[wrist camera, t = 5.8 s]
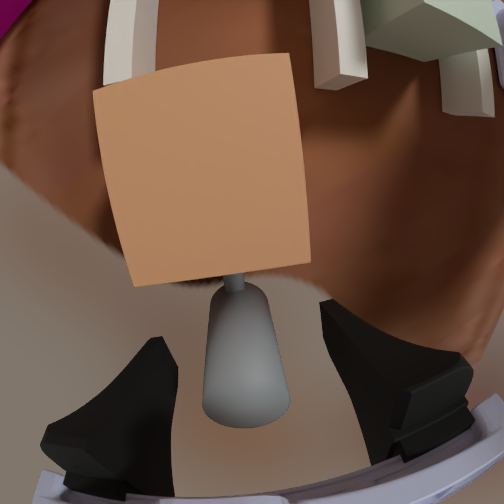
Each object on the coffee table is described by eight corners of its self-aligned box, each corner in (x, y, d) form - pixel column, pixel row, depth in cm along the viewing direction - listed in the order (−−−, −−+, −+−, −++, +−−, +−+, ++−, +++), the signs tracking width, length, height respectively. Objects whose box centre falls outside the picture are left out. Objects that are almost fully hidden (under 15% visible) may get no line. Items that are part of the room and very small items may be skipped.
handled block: (262, 91, 10) (293, 46, 5) (287, 323, 14) (314, 417, 9) (152, 110, 10) (83, 88, 5) (200, 335, 14) (190, 432, 9)
